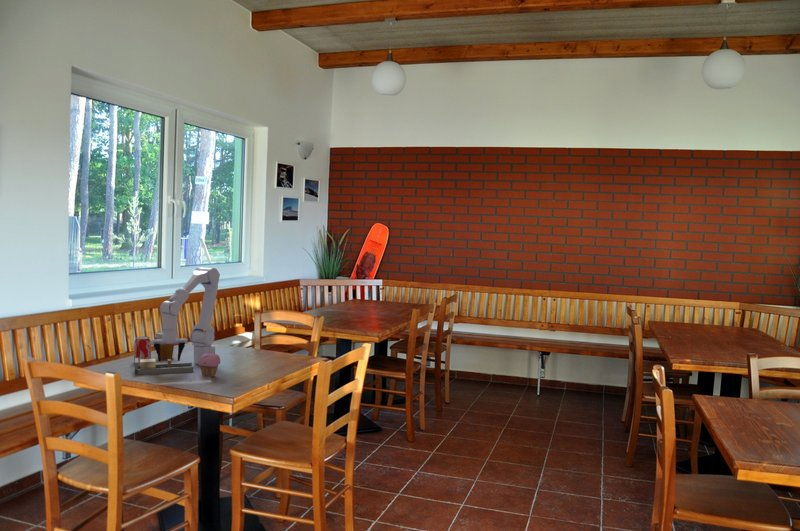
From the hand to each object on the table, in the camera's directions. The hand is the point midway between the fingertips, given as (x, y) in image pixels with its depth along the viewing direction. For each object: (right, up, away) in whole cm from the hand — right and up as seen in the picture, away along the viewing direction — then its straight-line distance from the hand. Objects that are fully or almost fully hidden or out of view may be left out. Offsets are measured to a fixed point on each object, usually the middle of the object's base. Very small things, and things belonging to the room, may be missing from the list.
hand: (169, 360), depth 281 cm
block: (-5, -4, -2) cm, 7 cm away
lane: (-2, -5, 0) cm, 5 cm away
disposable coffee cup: (-12, -3, +29) cm, 32 cm away
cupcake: (+18, -6, -4) cm, 20 cm away
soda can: (-17, -4, +15) cm, 23 cm away
